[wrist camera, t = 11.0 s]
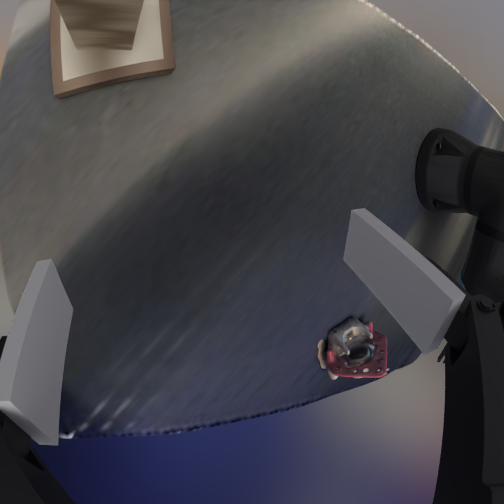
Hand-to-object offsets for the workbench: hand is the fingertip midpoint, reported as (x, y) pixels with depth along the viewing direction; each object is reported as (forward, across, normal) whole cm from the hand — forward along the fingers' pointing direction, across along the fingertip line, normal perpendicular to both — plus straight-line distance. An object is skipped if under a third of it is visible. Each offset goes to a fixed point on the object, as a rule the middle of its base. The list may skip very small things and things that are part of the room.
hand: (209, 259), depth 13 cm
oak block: (+18, -5, +13) cm, 23 cm away
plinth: (+21, -6, +13) cm, 25 cm away
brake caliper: (+18, +23, -34) cm, 45 cm away
